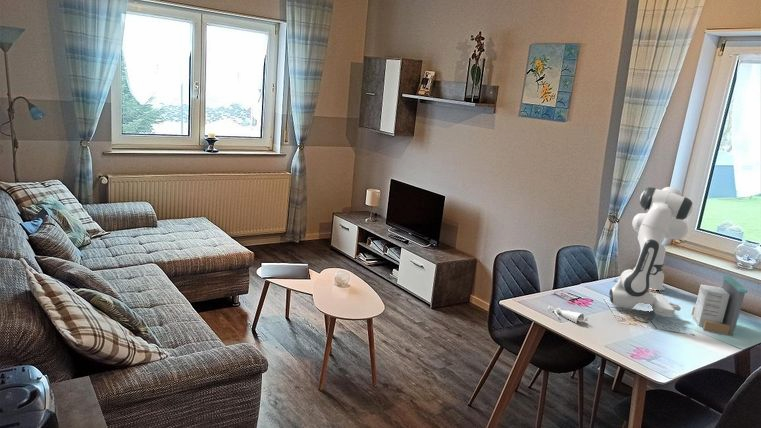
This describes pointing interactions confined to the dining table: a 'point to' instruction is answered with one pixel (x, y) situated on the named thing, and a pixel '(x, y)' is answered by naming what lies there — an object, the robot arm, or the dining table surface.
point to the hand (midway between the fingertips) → (679, 307)
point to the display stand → (728, 308)
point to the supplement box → (710, 305)
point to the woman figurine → (569, 314)
